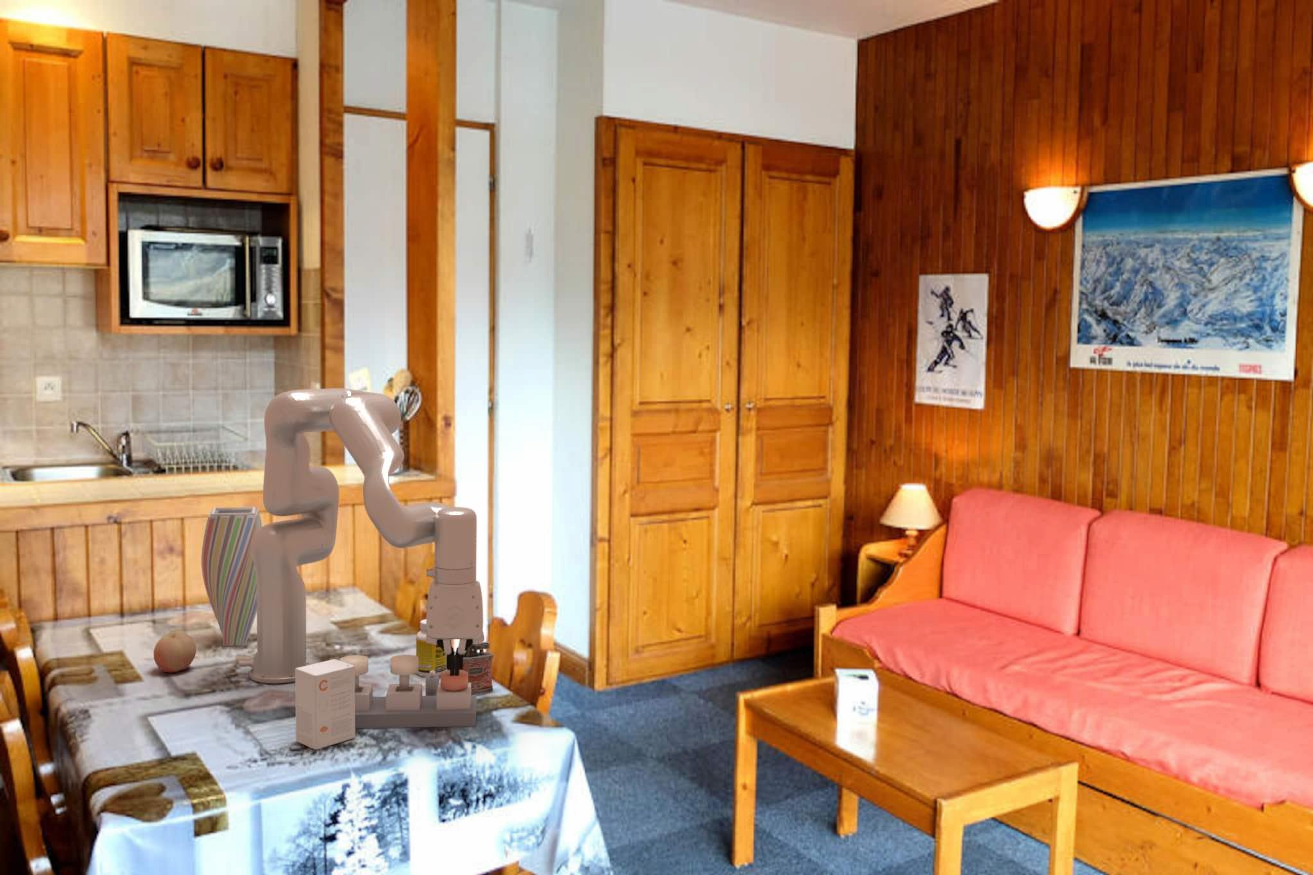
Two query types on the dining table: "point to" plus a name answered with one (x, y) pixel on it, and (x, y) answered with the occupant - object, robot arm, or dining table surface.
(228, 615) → the vase
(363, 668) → the knob near
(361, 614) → the dining table surface
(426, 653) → the pill bottle
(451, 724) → the mount board
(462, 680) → the knob far
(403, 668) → the knob mid
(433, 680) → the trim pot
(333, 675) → the small box
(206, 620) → the dining table surface
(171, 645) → the fruit
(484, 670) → the lighter
